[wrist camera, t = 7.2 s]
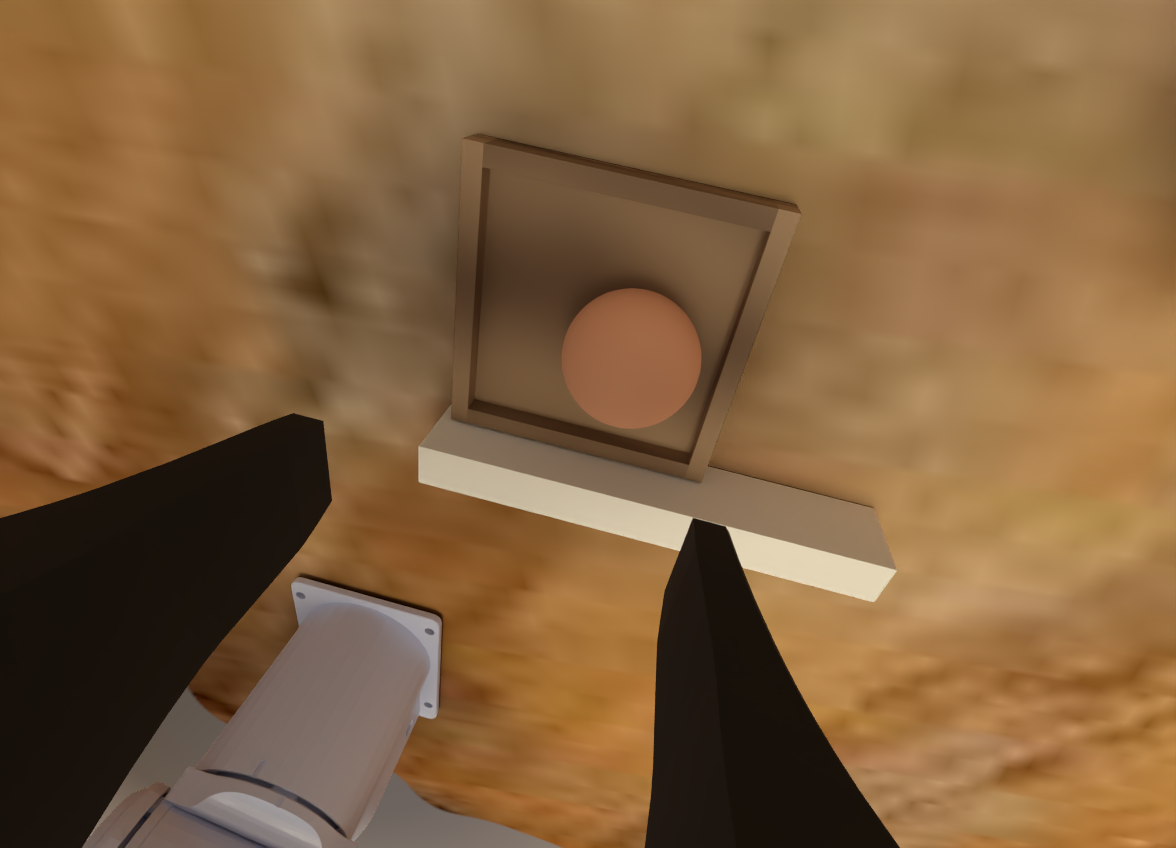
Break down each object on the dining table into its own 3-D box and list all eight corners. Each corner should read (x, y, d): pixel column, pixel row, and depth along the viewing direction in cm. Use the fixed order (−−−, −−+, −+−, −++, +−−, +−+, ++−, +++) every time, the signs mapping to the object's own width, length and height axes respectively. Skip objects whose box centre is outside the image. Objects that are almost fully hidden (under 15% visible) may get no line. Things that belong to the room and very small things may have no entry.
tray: (701, 462, 21) (701, 482, 20) (463, 402, 21) (451, 418, 20) (796, 204, 15) (801, 214, 14) (477, 134, 16) (462, 138, 15)
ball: (643, 379, 20) (706, 447, 17) (535, 388, 18) (584, 465, 15) (671, 267, 17) (749, 324, 14) (550, 265, 16) (611, 328, 13)
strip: (855, 539, 21) (874, 602, 19) (451, 435, 22) (418, 482, 20) (874, 508, 20) (896, 570, 18) (453, 401, 21) (418, 446, 19)
